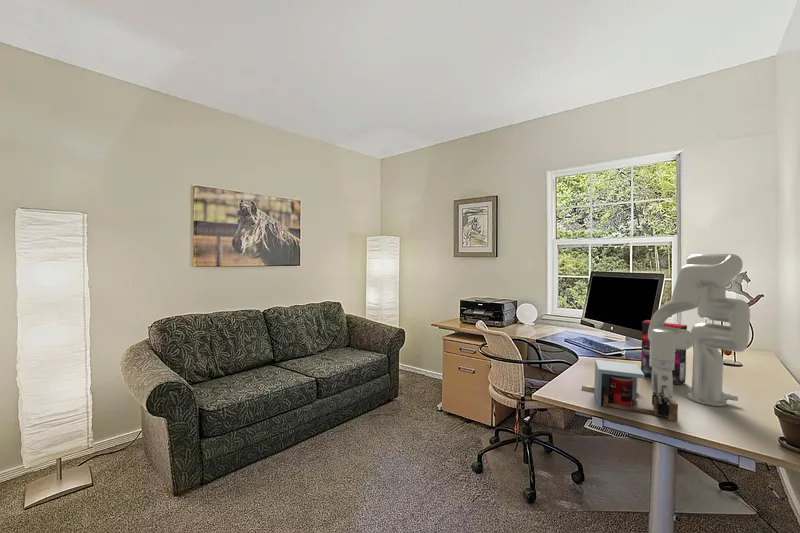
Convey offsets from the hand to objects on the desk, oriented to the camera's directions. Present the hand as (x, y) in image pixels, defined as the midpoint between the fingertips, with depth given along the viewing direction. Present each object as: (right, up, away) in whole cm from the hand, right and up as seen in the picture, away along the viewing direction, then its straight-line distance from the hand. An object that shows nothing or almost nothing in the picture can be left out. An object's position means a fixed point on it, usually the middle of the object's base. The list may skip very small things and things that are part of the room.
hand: (659, 410), depth 137 cm
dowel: (-11, -1, +23) cm, 25 cm away
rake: (-5, -1, +6) cm, 8 cm away
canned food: (-9, -2, +10) cm, 13 cm away
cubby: (-10, -1, +10) cm, 14 cm away
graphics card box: (+30, -2, +42) cm, 52 cm away
